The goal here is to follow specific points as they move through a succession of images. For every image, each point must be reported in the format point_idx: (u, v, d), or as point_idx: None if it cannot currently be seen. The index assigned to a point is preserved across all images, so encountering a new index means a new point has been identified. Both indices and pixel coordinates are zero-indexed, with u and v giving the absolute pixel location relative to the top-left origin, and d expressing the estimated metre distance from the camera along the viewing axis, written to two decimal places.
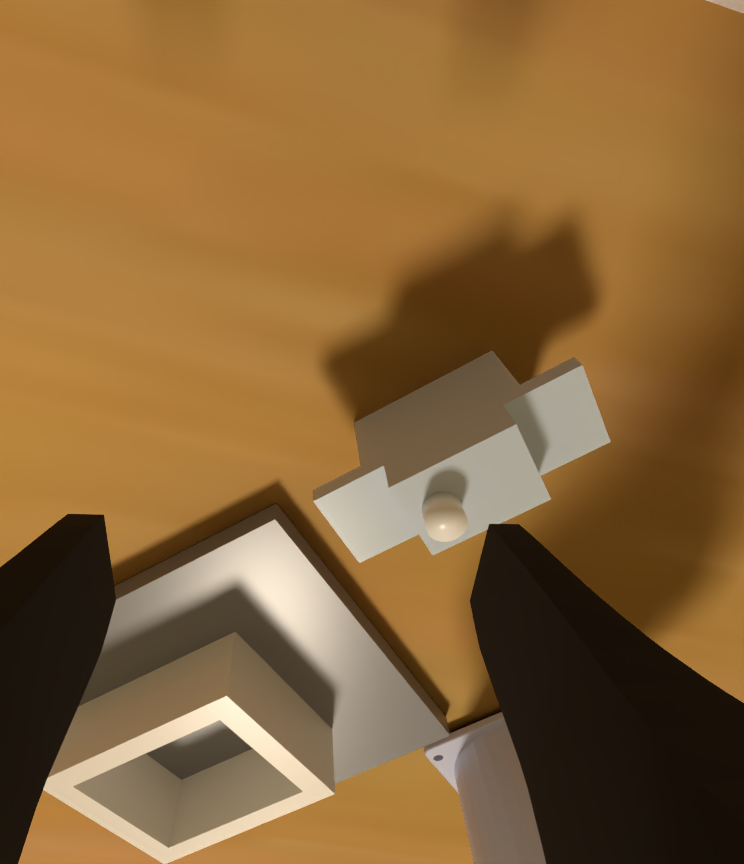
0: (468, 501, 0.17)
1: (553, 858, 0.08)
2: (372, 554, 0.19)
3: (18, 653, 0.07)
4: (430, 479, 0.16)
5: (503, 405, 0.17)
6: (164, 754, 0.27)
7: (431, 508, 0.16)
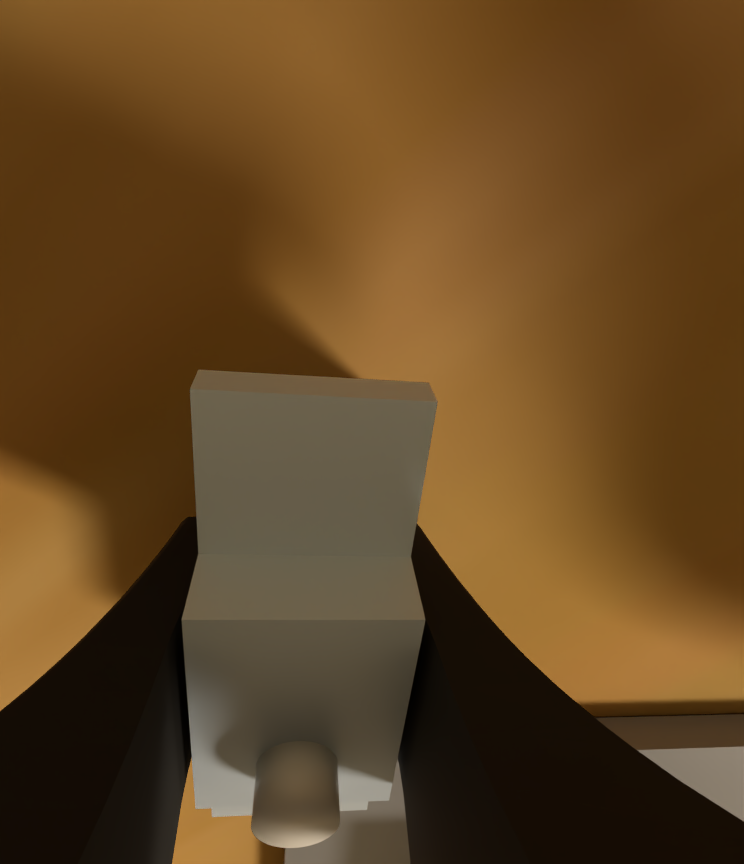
0: (314, 730, 0.08)
1: None
2: None
3: (180, 652, 0.08)
4: (220, 761, 0.08)
5: (199, 554, 0.08)
6: None
7: None
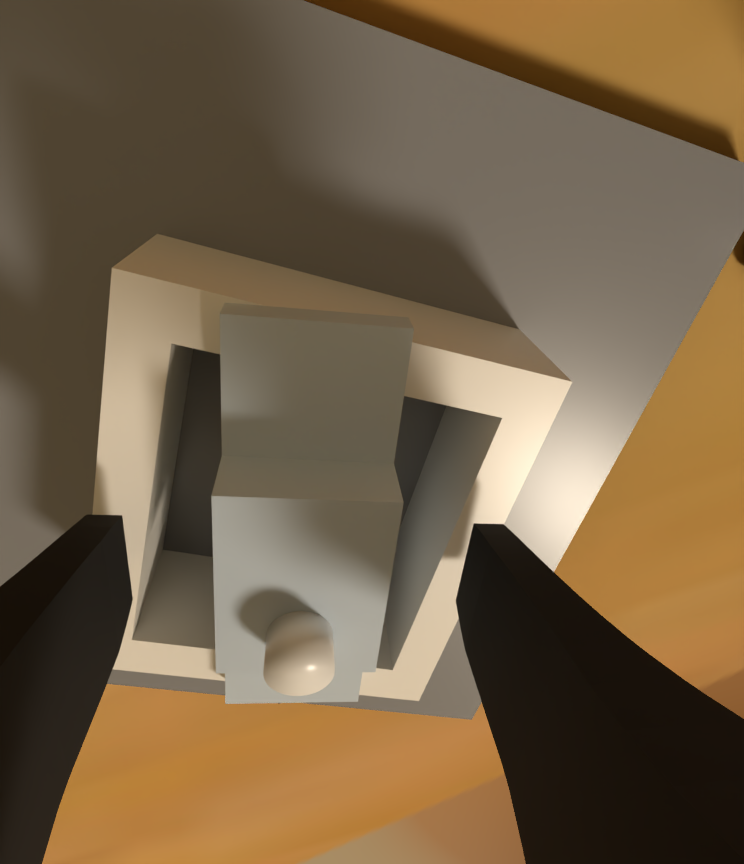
0: (314, 602, 0.10)
1: (533, 859, 0.08)
2: (356, 685, 0.13)
3: (43, 653, 0.07)
4: (237, 628, 0.10)
5: (222, 455, 0.10)
6: None
7: None
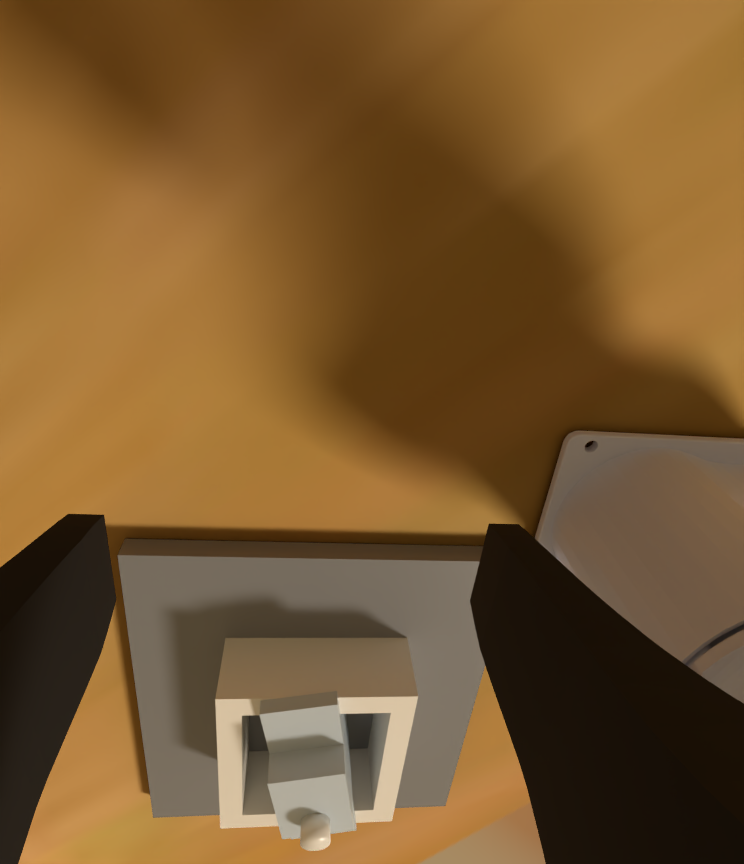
0: (318, 809, 0.23)
1: (553, 858, 0.08)
2: (353, 823, 0.26)
3: (18, 653, 0.07)
4: (287, 822, 0.23)
5: (270, 753, 0.23)
6: None
7: None
